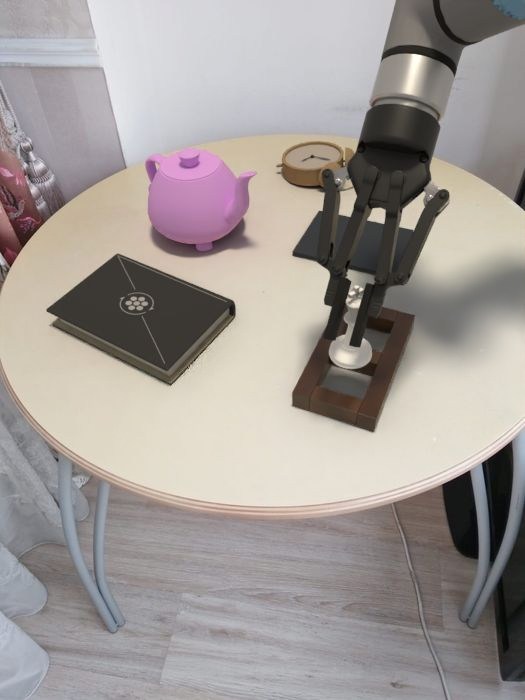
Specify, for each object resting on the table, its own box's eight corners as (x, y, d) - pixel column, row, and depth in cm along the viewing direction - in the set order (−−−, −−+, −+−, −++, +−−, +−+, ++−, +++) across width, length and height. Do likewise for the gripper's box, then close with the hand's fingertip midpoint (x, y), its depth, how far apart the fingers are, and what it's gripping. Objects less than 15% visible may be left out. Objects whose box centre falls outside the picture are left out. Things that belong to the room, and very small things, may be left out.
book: (237, 315, 79) (235, 299, 77) (171, 385, 71) (167, 370, 69) (123, 267, 88) (118, 251, 86) (52, 325, 80) (45, 309, 77)
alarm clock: (301, 137, 108) (372, 142, 100) (304, 161, 111) (373, 168, 103) (268, 163, 102) (341, 170, 94) (273, 188, 105) (344, 197, 97)
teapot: (286, 225, 93) (284, 147, 83) (232, 278, 85) (223, 198, 75) (182, 191, 102) (169, 116, 92) (124, 235, 93) (103, 159, 83)
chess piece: (380, 358, 64) (391, 291, 57) (345, 375, 63) (351, 309, 55) (355, 332, 67) (361, 265, 60) (320, 348, 66) (322, 282, 58)
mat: (412, 234, 90) (413, 229, 90) (393, 279, 83) (393, 275, 82) (318, 214, 95) (319, 210, 94) (292, 255, 88) (292, 251, 87)
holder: (412, 328, 76) (415, 314, 74) (374, 432, 65) (376, 419, 63) (340, 309, 79) (341, 296, 77) (292, 405, 68) (291, 392, 66)
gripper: (480, 140, 58) (416, 362, 60) (339, 120, 62) (285, 325, 64) (484, 111, 50) (411, 363, 52) (324, 90, 55) (264, 322, 57)
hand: (342, 342), depth 58 cm, fingers closed on chess piece, 2 cm apart
